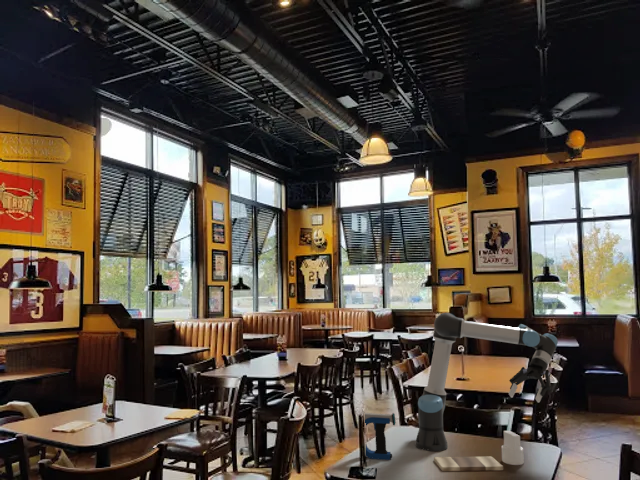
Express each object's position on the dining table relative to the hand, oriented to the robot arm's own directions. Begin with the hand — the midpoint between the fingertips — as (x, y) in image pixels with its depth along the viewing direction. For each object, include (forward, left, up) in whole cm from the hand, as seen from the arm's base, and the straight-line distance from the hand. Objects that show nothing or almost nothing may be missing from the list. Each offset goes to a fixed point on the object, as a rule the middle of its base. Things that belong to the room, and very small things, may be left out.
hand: (523, 398), depth 228 cm
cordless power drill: (-53, -41, -26) cm, 72 cm away
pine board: (-17, -26, -26) cm, 41 cm away
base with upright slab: (-3, -9, -26) cm, 28 cm away
